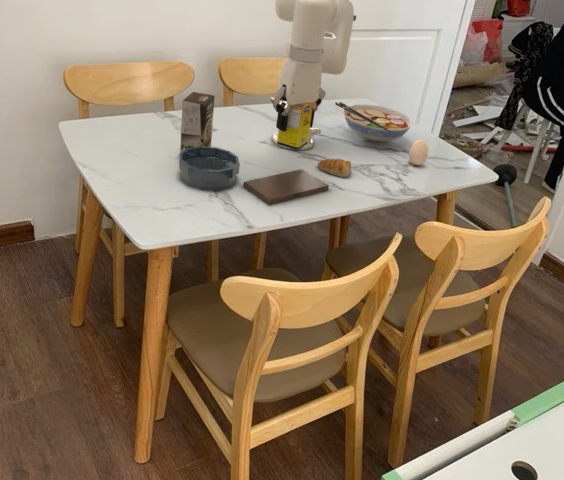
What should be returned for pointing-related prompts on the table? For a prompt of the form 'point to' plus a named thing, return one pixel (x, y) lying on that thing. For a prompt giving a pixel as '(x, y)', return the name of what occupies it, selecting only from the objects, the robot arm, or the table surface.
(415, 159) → the egg
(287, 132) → the supplement box
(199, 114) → the coffee box
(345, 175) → the pastry
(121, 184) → the table surface
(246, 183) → the walnut board
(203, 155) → the bowl
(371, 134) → the ramen bowl
